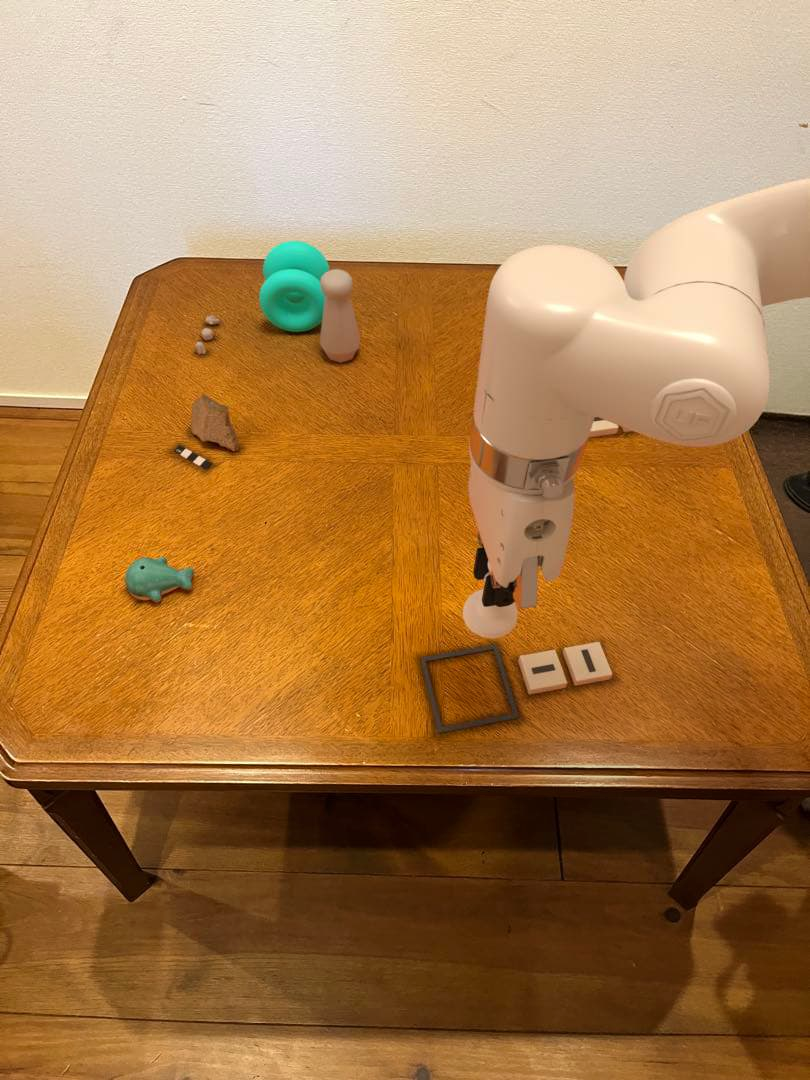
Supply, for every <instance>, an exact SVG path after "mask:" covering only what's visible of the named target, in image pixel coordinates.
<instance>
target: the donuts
mask: <svg viewBox="0 0 810 1080" xmlns="http://www.w3.org/2000/svg"><path fill="white" fill-rule="evenodd" d="M330 270H331V269H330V265H329V263H328V261H327V258H326V257H325V255H324V254H323V253H322V252H321V251H320V250H319V249H318V248H316V247H315V246H313V245H311V244H310V243H307V242H304V241H299V240H289V241H284V242H281V243H279V244H277V245H275V246H274V247H273V248H272V249H271V250H269V252H268V253H267V254H266V255H265V258H264V262H263V267H262V273H263V278H264V282H263V283H262V285H261V287H260V290H259V295H258V296H259V297H258V301H259V306H260V309H261V312H262V314H263V315H264V316H265V318H266V319H267V320H268V321H269V322H270V324H272V325H274V326H275V327H277V328H278V329H281V330H284V331H287V332H291V333H301V332H307V331H310V330H313V329H314V328H316V327H317V326H319V325H320V324H322V318H323V310H324V302H325V295H324V294H323V292H322V290H321V277H322V276H323V275H324V273H326V272H327V271H330Z"/></svg>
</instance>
